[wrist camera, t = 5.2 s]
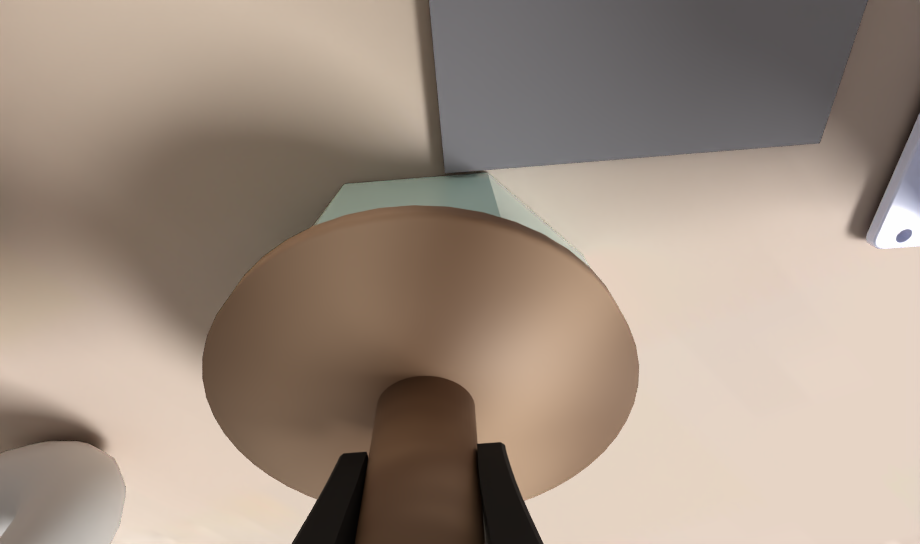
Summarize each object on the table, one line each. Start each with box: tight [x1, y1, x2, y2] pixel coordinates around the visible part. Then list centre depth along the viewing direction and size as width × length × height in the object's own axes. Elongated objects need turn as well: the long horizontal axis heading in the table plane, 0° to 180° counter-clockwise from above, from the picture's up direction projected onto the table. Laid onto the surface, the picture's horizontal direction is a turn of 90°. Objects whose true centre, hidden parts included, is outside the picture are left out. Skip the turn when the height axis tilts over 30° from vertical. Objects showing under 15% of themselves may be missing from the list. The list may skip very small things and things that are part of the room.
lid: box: [202, 205, 639, 544], centre depth 11 cm, size 12×12×5 cm
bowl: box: [312, 172, 590, 267], centre depth 15 cm, size 12×12×4 cm
